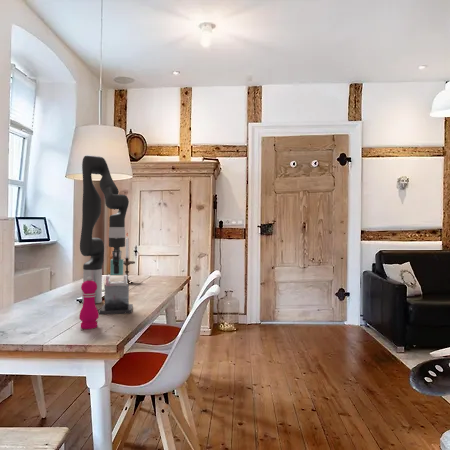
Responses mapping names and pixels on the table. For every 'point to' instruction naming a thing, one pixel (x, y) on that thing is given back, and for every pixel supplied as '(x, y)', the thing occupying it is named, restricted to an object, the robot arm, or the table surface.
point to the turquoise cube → (119, 267)
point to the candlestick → (127, 258)
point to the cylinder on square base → (116, 297)
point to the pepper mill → (89, 305)
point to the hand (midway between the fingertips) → (116, 272)
